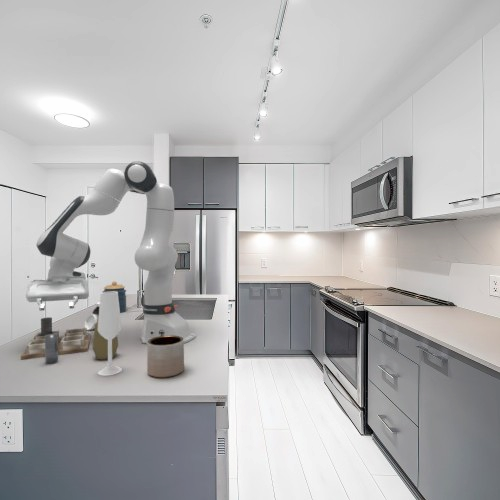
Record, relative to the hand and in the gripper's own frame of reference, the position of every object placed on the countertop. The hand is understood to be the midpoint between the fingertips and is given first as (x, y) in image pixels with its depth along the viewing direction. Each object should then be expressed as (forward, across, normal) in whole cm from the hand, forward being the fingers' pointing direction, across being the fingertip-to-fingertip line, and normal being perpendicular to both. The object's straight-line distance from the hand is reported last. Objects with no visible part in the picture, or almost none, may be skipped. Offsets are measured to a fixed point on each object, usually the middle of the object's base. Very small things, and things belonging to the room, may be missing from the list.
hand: (56, 308), depth 116 cm
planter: (+36, +33, -14) cm, 51 cm away
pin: (+20, 0, +2) cm, 20 cm away
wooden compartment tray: (+8, 0, +14) cm, 16 cm away
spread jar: (-10, +14, +32) cm, 36 cm away
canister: (-36, +20, +58) cm, 71 cm away
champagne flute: (+31, +18, -9) cm, 37 cm away
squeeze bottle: (+21, +16, +1) cm, 27 cm away
